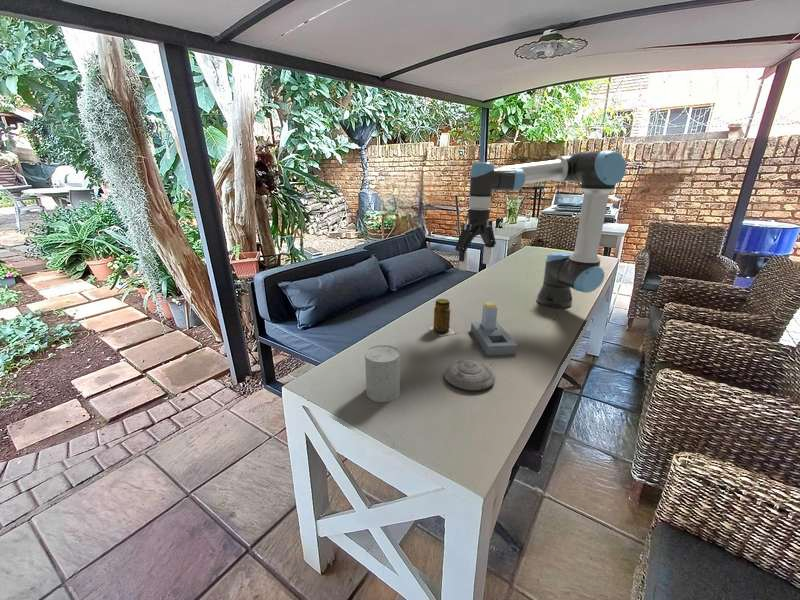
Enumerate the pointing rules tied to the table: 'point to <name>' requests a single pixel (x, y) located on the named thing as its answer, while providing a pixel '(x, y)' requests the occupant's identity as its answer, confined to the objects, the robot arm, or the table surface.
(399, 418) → the table surface
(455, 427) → the table surface
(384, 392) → the pale grey cylinder
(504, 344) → the panel
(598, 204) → the robot arm
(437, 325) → the condiment
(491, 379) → the flying saucer
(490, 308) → the plug
